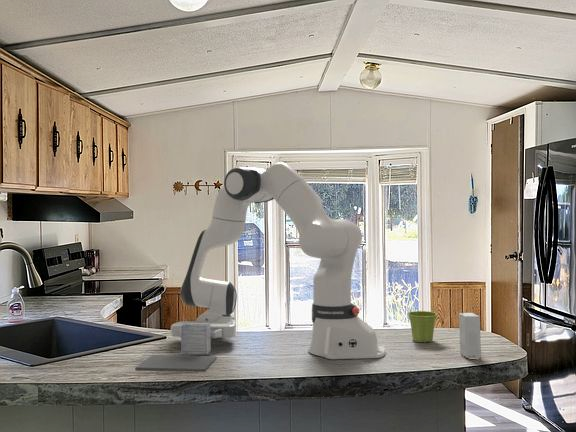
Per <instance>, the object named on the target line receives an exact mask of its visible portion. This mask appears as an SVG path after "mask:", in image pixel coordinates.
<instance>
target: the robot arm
mask: <svg viewBox="0 0 576 432" xmlns="http://www.w3.org/2000/svg"><path fill="white" fill-rule="evenodd" d="M273 200H275V202H276V203H277V204H278V206H279V207H280V208H281V209H282V210H283V211H284V213H285V214H286V215H287V216H288V218H289V219H290V220H291V221H292V222H293V225H294V226H295V228H296V231H297V233H298V243H299V244H298V245H299V247H300V249H301V251H302V252H303V253H304V254H305V255H307V256H308V257H311V258H316V259H320V261H319V262H320V263H319V264H318V268H317V270H316V272H315V274H314V275H313V279H312V283H313V284H312V285H313V292H312V295H313V302H312V305H311V323H312V329H311V330H312V332H311V338H310V344H309V347H308V349H307V351H308V352H309V353H310V354H312V355H315V356H319V357H323V358H324V359H328V360H344V359H345V360H348V359H349V360H350V359H379V358H383V357H384V356H385V355H386V348H385V347H384V345H382V344H379V342H378V337H377V333H376V331H375V329H374V328H373V327H371V326H370V325H369V324H368V323H367V322H366V321H365V320H362V319H361V317H359V313H360V309H359V307H358V306H357V305H356V304H353V303H352V274H353V273H352V272H353V270H354V263H355V258H356V254H357V251H358V249H359V247H360V245H361V243H362V239H363V235H362V231H361V228H360V227H359V226H358V225H357V224H356V223H354V222H352V221H350V220H347V219H344V218H343V219H342V218H341V219H339V218H338V219H332V218H331V217H330V216H328V214H327V213H326V211H325V209H324V207H323V201H322V198H321V196H319V195H318V193H317V192H316V191H315V190H314V189H313V187H312V186H311V185H310V184H309V183H308V182H307V181H306V179H305V178H304V177H302V176H301V174H300V173H298V172H297V171H296V170H295V169H294V168H293V167H292V166H290V165H288V164H287V163H285V162H275V163H273V164H272V165H269V166H268V168H266V169H265V168H264V169H263V168H259V167H255V166H254V167H253V166H237V167H234V168H231V169H230V170H229V171H227V173H226V174H225V177H224V181H223V186H222V187H221V188H219V189H218V191H217V195H216V198H215V202H214V205H213V210H212V217H211V222H210V223H209V225H208V227H207V228H206V229H204V230H202V231H201V232H200V234H199V236H198V238H197V240H196V242H195V243H196V244H195V247H194V249H193V253H192V255H191V259H190V262H189V265H188V269H187V272H186V275H185V277H184V280H183V282H182V284H181V288H180V291H179V292H180V293H179V297H180V299H181V300H182V302H183V303H184V304H185V305H186V306H187V307H200V308H205V309H206V308H207V310H205V311H204V312H203V313H201V314H200V315H199V316H198V317H197V318H196V319H195V321H189V320H188V321H187V320H186V321H185V320H184V321H178V322H175V323H173V324H171V326H170V335H171V337H174V338H180V339H181V326H182V325H183V324H184V323H210V340H211V341H212V340H217V339H221V338H225V339H226V338H228V339H229V338H231V339H232V338H235V337H236V336H237V322H236V321H237V320H236V317H235V316H234V315H231V314H232V313H234V311H235V308H236V306H237V300H238V299H237V298H238V293H237V289H236V288H235V286H234V284H233V283H232V282H230V281H225V280H219V279H211V278H205V277H202V276H201V273H202V270H203V267H204V263H205V260H206V257H207V254H208V253H209V251H211V250H213V249H216V248H221V247H225V246H230V245H233V244H235V243H237V242H238V241H239V240H240V239H241V238H242V237H243V234H244V233H245V228H246V227H245V226H246V220H247V212H248V208H249V206H250V205H251V204H252V203H254V204H261V203H267V202H270V201H273Z"/></svg>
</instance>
